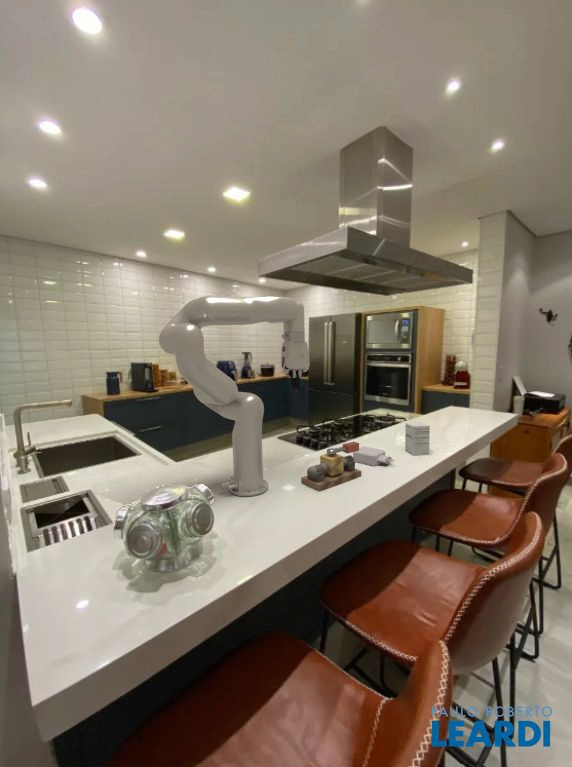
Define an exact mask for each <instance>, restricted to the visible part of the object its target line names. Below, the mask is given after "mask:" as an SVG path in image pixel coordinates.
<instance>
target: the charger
mask: <svg viewBox="0 0 572 767" xmlns="http://www.w3.org/2000/svg"><path fill="white" fill-rule="evenodd" d="M352 457H353V458H354V462H355V463H360V464H364V465H368V466H371V465H372V466H373V467H376V466H378V465H380V464H382V463H383V464H386V465H387V464H389V463H393V462H395V459H393V457H391V456H388V455H386V451H385V450H383V449H378V448H374V447H369V446H365V445H364V446H360V447H359V451H356V452H352Z"/></svg>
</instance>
